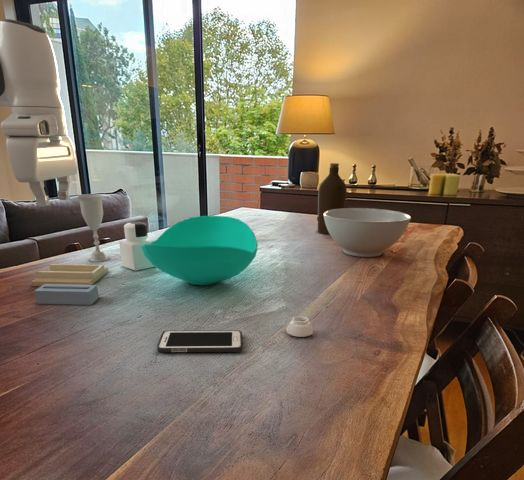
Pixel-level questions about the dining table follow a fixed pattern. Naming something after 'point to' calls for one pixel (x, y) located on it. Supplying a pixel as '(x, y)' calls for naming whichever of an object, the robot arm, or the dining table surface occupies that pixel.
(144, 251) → the table top decor
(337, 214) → the decorative bowl
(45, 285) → the blue pad
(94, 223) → the chalice
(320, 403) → the dining table surface
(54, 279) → the base pad
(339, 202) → the olive oil
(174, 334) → the cell phone
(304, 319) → the lidless jar
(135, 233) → the medicine bottle
